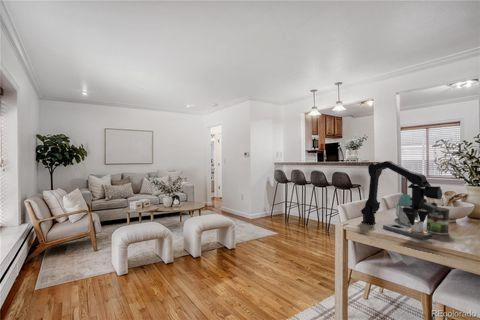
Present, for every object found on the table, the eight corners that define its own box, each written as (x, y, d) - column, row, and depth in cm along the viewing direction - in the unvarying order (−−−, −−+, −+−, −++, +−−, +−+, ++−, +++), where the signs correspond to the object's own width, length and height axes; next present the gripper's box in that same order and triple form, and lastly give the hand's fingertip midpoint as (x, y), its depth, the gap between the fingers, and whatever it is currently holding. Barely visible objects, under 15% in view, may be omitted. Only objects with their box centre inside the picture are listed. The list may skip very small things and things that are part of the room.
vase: (398, 216, 179) (398, 192, 179) (417, 219, 171) (417, 194, 170) (393, 219, 171) (393, 194, 171) (412, 222, 163) (413, 196, 162)
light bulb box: (418, 226, 153) (419, 209, 153) (406, 226, 155) (407, 209, 155) (410, 222, 164) (410, 206, 164) (399, 221, 165) (399, 206, 165)
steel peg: (411, 234, 138) (411, 220, 137) (415, 233, 139) (415, 220, 139) (418, 236, 134) (419, 222, 134) (422, 235, 136) (423, 221, 136)
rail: (383, 228, 149) (383, 224, 149) (393, 226, 154) (393, 222, 154) (422, 239, 130) (422, 235, 129) (433, 237, 134) (433, 232, 134)
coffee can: (446, 236, 136) (446, 211, 136) (423, 231, 144) (424, 207, 144) (450, 232, 142) (451, 208, 142) (429, 228, 150) (429, 205, 150)
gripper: (424, 200, 125) (424, 230, 125) (443, 197, 133) (443, 226, 133) (402, 196, 135) (401, 224, 135) (421, 194, 143) (420, 221, 143)
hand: (417, 224), depth 136 cm, fingers open, 9 cm apart
